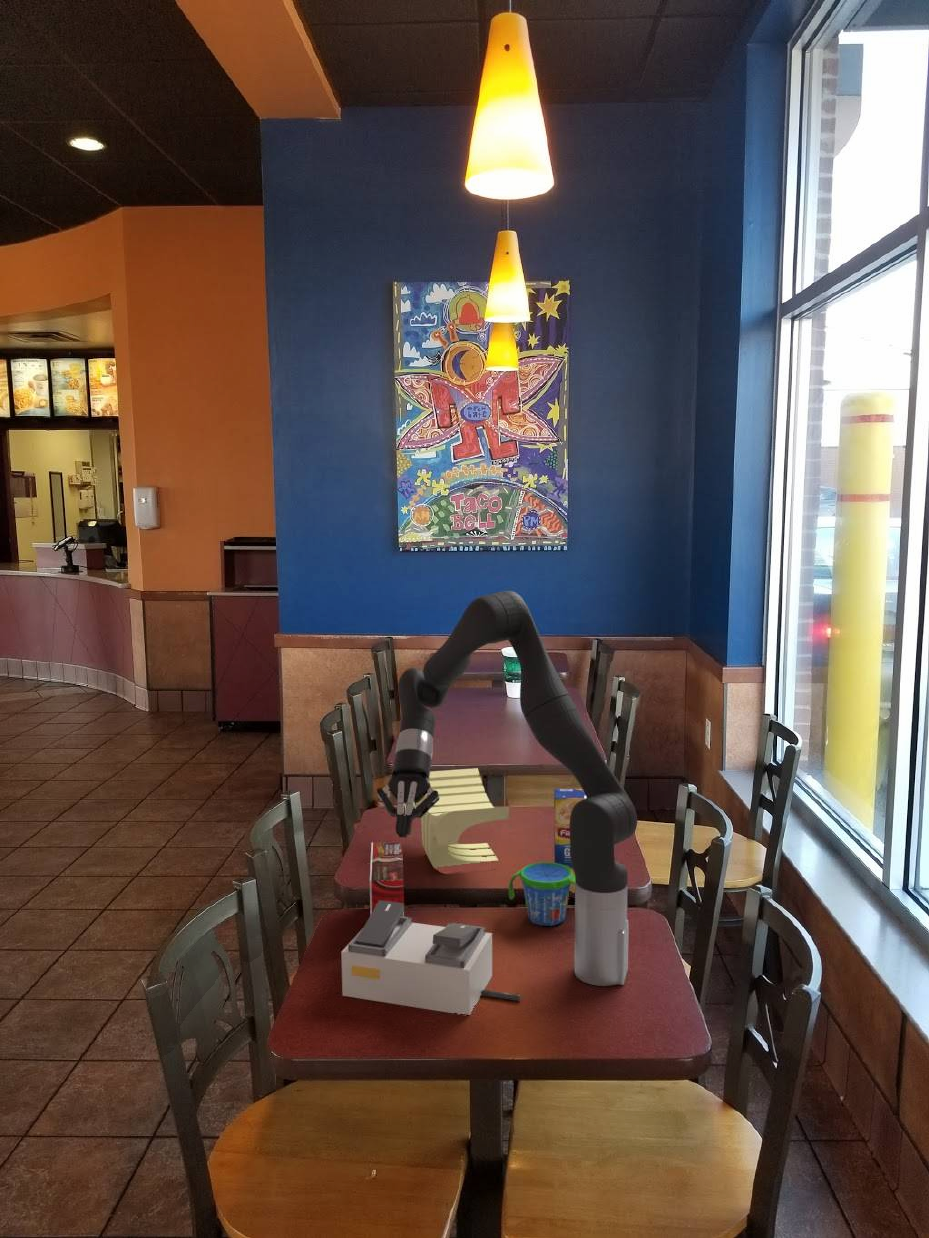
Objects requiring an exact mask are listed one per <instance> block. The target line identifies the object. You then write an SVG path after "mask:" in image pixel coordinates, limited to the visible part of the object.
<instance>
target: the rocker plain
mask: <svg viewBox="0 0 929 1238" xmlns="http://www.w3.org/2000/svg"><path fill="white" fill-rule="evenodd" d="M458 924H459V923H456V924H452V925H450V926H448V927H446V926H445V927H446V928H445V929H443V930H441V931H439V932H438V933H436V934H434V935H433V944H439V945H446V946H453V947H461V946H463V945H464V944H466V943H467V942H469V941H470V940H472V939H473V938H475V937H476V936H477V934H478V927H473V926H474V925H471V926H465V925H466V924H464V925H458Z"/></svg>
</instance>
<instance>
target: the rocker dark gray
mask: <svg viewBox="0 0 929 1238" xmlns="http://www.w3.org/2000/svg"><path fill="white" fill-rule="evenodd" d="M403 911H404V912H405V902H404V903H397V902H389V901H381V900H379V901H378V903H377V905H376V906H375V908H374V910H373V912H372V914H371V915H369V918H368V919H367V920H366V923H365V924H364V926H363V928H362V929H363V930H362V929H361V930H362V931H361V930H360V931H361V933H360V935H359V937H358V938H357V940H356V944H358V945H365V946H372V947H379V948H384V946H385V945H386V944H387V942H388V940H389V938H390V936H391V935H392V933H393V931H394V929H395V927H396V925H397V923H398V921H399V919H400V917H401V915H402V913H403Z"/></svg>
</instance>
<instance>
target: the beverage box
mask: <svg viewBox="0 0 929 1238" xmlns="http://www.w3.org/2000/svg"><path fill="white" fill-rule="evenodd" d="M553 791H554V793H553V794H554V800H553V803H554V804H553V805H554V806H553V807H554V818H553V819H554V822H553V823H554V824H553V825H554V828H553V829H554V833H553V834H554V835H553V836H554V837H553V838H554V839H553V840H554V841H553V842H554V847H553V848H554V851H553V855H554V856H553V860H554V861H553V863H558V864H562V865H565V866H567V867H568V868H570V869H571V870H572V873H573V875H574V876H575V872H574V870H573V867H572V864H571V853H570V816H571V812H572V809H573V807H574V806H575V805H576V804H577V803H578V802H579V801H581V800H583V799H586V798H587V797H586V795H585V793H584V791H583V789H582V788H554V789H553ZM569 891H571V892H572V893H575V884H574V883H571V884H570V890H569Z"/></svg>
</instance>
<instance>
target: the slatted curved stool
mask: <svg viewBox="0 0 929 1238" xmlns="http://www.w3.org/2000/svg"><path fill="white" fill-rule="evenodd" d="M480 775H481V774H480V771H479V768H478V767H476V768H462V769H449V770H447V769H446V770H435V771H434V770H433V771H431V770H430V776H429V782H430V786H431V788H432V789H433V790H436V791H438V794H439V800H438V801H437V802H436V803H435V804H434V805H433V806H432V807H431V808H430V809H429V810H428V811H427V812H426V813H425V814H424V815H423V816H422V817H421V818H420V824H421V845H422V848H423V849H424V852H425V853H426V855H427V857H428V860H429V862H430V864H431V865H432V867H433V869H434V868H437V867H444V866H452V865H461V864H470V863H480V862H491V861H499V859H498V857H497V855H496V854H495V853H494V851H493V850H492V848H491V847H490V846H489V843H488V842H484V843H459V839H460V837H461V835H462V834H463V833H464V832H465V831H466V830H467V829H469V828H471V827H473V826H475V825H479V824H483V823H489V822H494V821H503V820H509V819H510V806H503V807H502V806H499V807H495V806H493V804H492V802H490V799H489V797H488V794H487V793H486V790H485V787H484V785H483V781H482V778H481V776H480ZM426 795H427V794H426ZM426 795H425V796H424V797H423V798H422V799H421V800H420V801H419V802H418V803H417V806H418V805H419V804H420V803H421V802H422V801H424V800H425V799H426V798H427V797H426ZM488 848H490V849H488ZM470 849H476V850H470ZM493 855H495V856H493ZM482 856H487V857H482Z"/></svg>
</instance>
